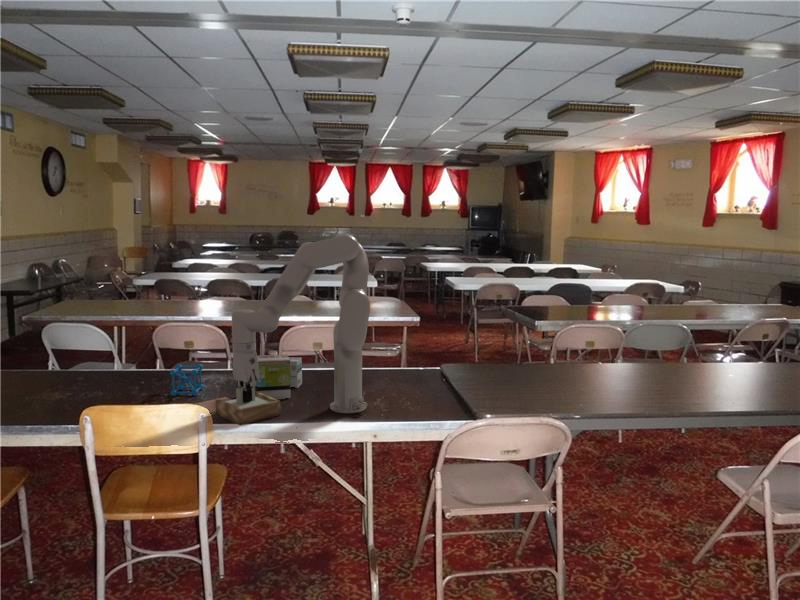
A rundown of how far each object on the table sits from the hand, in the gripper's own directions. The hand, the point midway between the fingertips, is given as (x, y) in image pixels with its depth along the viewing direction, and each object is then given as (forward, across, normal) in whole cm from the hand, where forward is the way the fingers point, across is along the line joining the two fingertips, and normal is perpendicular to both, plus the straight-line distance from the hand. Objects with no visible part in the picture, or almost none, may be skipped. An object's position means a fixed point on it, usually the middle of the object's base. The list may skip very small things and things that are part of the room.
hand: (245, 400), depth 206 cm
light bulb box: (+5, +20, -29) cm, 35 cm away
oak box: (+4, -1, 0) cm, 5 cm away
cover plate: (+1, -2, 0) cm, 2 cm away
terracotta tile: (+4, +14, +3) cm, 15 cm away
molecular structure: (+5, +36, +4) cm, 36 cm away
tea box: (+5, +12, -16) cm, 20 cm away
